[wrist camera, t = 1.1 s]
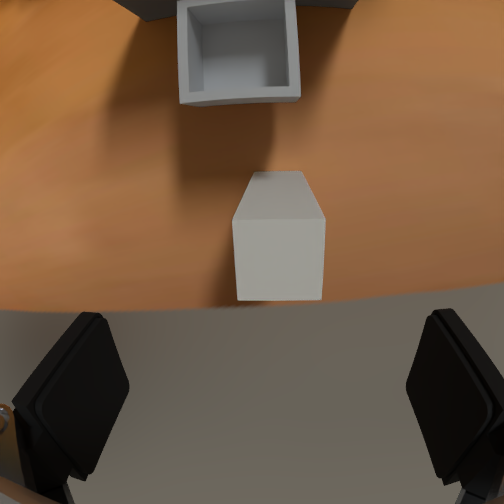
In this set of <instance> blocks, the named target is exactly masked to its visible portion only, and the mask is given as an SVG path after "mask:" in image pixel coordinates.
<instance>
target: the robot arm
mask: <svg viewBox="0 0 504 504" xmlns="http://www.w3.org/2000/svg"><path fill="white" fill-rule="evenodd" d="M406 391H407V394H408V397H409V400H410V402H411V405H412V407H413V410H414V413H415V415H416V418H417V420H418V423H419V426H420V429H421V432H422V434H423V437H424V440H425V443H426V446H427V449H428V452H429V455H430V458H431V461H432V464H433V467H434V470H435V473H436V475H437V477H438V478H442V481H443V484H444V486H445V485H448V484H451V483H454V482H457V481H460V483H461V486H462V488H461V491H460V493H459V495H458V498H457V500H456V502H455V504H504V379H503V377H502V375H501V374H500V372H499V371H498V369H497V368H496V366H495V365H494V364H493V362H492V361H491V359H490V358H489V356H488V355H487V354H486V352H485V351H484V349H483V348H482V347H481V345H480V344H479V342H478V341H477V340H476V338H475V337H474V336H473V334H472V333H471V332H470V330H469V329H468V328H467V326H466V325H465V324H464V323H463V321H462V320H461V319H460V317H459V316H458V315H457V314H456V313H455V311H454V310H453V309H451V308H448V309H438V310H434V311H433V312H432V314H431V315H430V316H428V317H427V319H426V322H425V325H424V329H423V333H422V336H421V339H420V343H419V346H418V349H417V352H416V355H415V358H414V362H413V364H412V367H411V370H410V373H409V376H408V379H407V382H406ZM128 392H129V381H128V378H127V376H126V373H125V371H124V368H123V366H122V363H121V360H120V357H119V354H118V351H117V349H116V346H115V343H114V340H113V337H112V334H111V331H110V328H109V325H108V322H107V320H106V319H105V318H103V316H102V315H101V314H100V313H93V312H82V313H81V314H80V315H79V316H78V317H77V318H76V319H75V321H74V322H73V323H72V324H71V325H70V327H69V328H68V329H67V330H66V331H65V333H64V334H63V335H62V336H61V337H60V339H59V340H58V341H57V342H56V344H55V345H54V346H53V347H52V349H51V350H50V351H49V352H48V354H47V355H46V356H45V357H44V359H43V360H42V361H41V362H40V364H39V365H38V366H37V368H36V369H35V370H34V371H33V373H32V374H31V375H30V377H29V378H28V379H27V381H26V382H25V383H24V385H23V386H22V388H21V389H20V390H19V392H18V393H17V395H16V396H15V397H14V398H13V400H12V403H13V405H14V406H15V407H16V408H15V409H14V411H12V410H11V409H10V407H9V406H7V405H5V404H0V504H75V503H74V500H73V497H72V495H71V492H70V489H69V486H68V484H67V478H68V476H69V475H70V476H71V477H73V478H76V479H79V480H82V481H86V479H87V476H88V474H92V473H93V471H94V470H95V467H96V465H97V462H98V460H99V458H100V455H101V453H102V451H103V448H104V446H105V444H106V441H107V439H108V437H109V434H110V432H111V430H112V427H113V425H114V423H115V421H116V419H117V417H118V414H119V412H120V410H121V408H122V405H123V403H124V401H125V399H126V397H127V395H128Z"/></svg>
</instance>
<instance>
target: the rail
mask: <svg viewBox="0 0 504 504" xmlns="http://www.w3.org/2000/svg"><path fill="white" fill-rule="evenodd" d="M325 220H326V219H325V217H324V215H323V213H322V211H321V209H320V207H319V205H318V203H317V201H316V199H315V197H314V195H313V193H312V191H311V189H310V187H309V185H308V183H307V181H306V179H305V177H304V175H303V173H302V171H260V172H254V173H253V175H252V177H251V180H250V182H249V184H248V186H247V188H246V190H245V193H244V195H243V197H242V199H241V201H240V204H239V206H238V208H237V210H236V212H235V215H234V217H233V219H232V227H233V242H234V257H235V271H236V285H237V299H238V300H247V301H274V300H321V297H322V282H323V266H324V246H325Z"/></svg>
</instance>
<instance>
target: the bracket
mask: <svg viewBox="0 0 504 504" xmlns="http://www.w3.org/2000/svg"><path fill="white" fill-rule="evenodd" d="M113 1H115V2H117V3H118V4H120V5H121V6H123V7H125V8H126V9H128V10H129V11H131V12H132V13H134V14H135V15H137V16H138V17H140V18H141V19H143V20H144V21H146V22H147V21H152V20H156V19H161V18H166V17H171V16H177V45H178V77H179V99H180V104H185V105H190V106H196V107H206V106H217V105H231V104H248V103H278V102H297V100H298V99H299V98H300V97H301V86H300V65H299V47H298V32H297V18H296V6H321V7H336V8H347V9H352V8H353V7H354V5H355V4H356V3H357V1H358V0H113Z"/></svg>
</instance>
